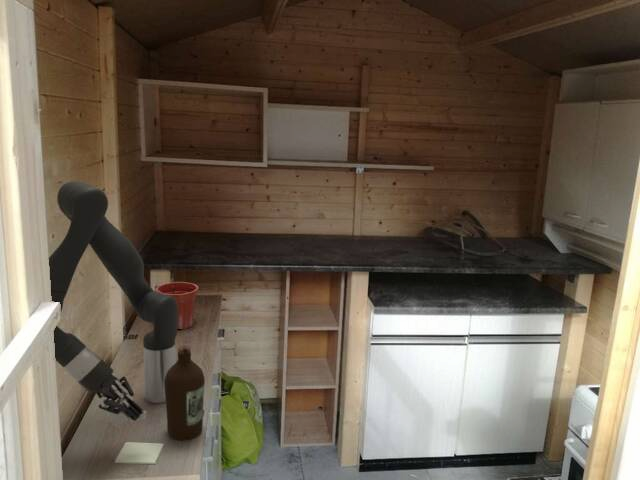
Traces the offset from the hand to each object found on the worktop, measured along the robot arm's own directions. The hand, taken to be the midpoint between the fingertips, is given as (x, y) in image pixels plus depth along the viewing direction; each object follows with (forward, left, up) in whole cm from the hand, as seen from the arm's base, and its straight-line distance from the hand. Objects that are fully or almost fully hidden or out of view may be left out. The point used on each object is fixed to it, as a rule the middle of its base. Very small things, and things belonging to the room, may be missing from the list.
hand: (138, 415), depth 137 cm
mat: (+1, 0, -10) cm, 11 cm away
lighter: (0, -6, -3) cm, 7 cm away
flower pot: (-85, -12, -11) cm, 87 cm away
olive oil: (-10, +9, -11) cm, 18 cm away
